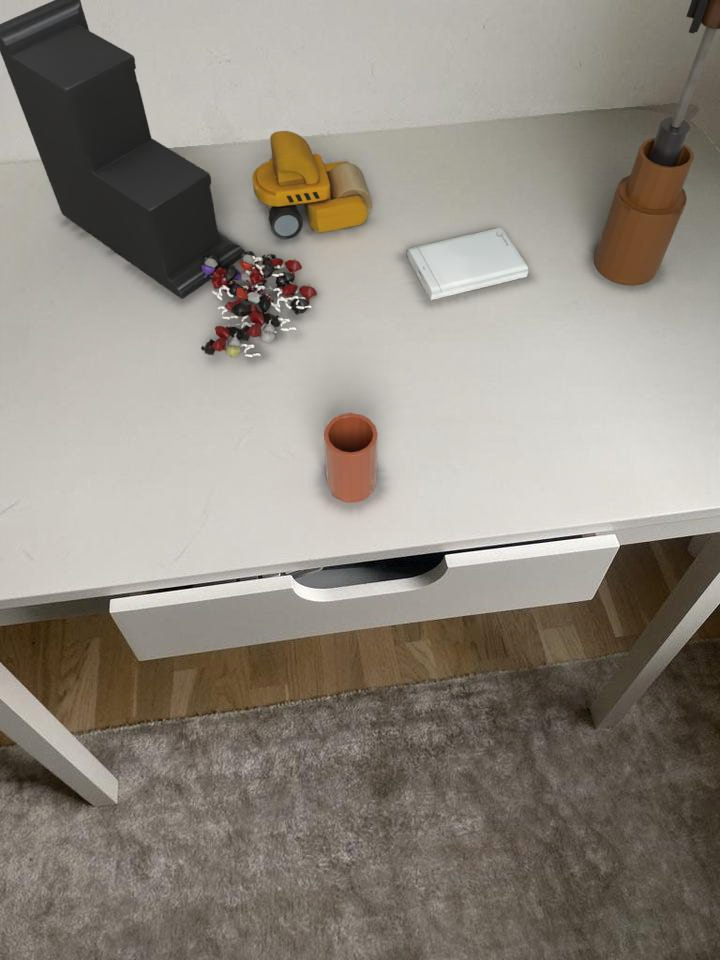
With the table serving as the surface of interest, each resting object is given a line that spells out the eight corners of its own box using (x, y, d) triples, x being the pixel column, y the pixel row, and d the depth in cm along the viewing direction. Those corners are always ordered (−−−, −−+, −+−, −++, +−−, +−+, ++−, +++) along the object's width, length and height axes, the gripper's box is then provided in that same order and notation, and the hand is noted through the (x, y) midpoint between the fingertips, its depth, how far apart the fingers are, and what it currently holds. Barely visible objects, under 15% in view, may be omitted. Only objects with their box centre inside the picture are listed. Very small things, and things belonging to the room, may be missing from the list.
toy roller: (375, 228, 97) (376, 153, 88) (263, 245, 95) (253, 170, 86) (360, 186, 102) (360, 111, 93) (253, 201, 100) (243, 126, 91)
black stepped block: (247, 255, 94) (217, 64, 74) (181, 301, 90) (130, 111, 70) (127, 178, 103) (71, -12, 83) (61, 217, 98) (-14, 26, 79)
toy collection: (179, 273, 91) (175, 244, 86) (296, 256, 94) (298, 227, 90) (206, 375, 84) (203, 349, 80) (330, 352, 88) (333, 327, 84)
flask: (670, 269, 93) (719, 158, 80) (625, 294, 90) (668, 183, 78) (625, 235, 96) (665, 123, 84) (581, 258, 94) (615, 147, 81)
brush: (679, 170, 82) (761, -36, 65) (660, 180, 81) (737, -27, 65) (659, 156, 84) (734, -49, 67) (639, 166, 83) (710, -40, 66)
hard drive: (501, 225, 95) (407, 246, 93) (529, 268, 90) (432, 291, 88) (499, 236, 96) (406, 257, 94) (527, 279, 92) (430, 301, 90)
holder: (385, 487, 75) (387, 439, 69) (344, 511, 74) (343, 464, 67) (358, 454, 78) (357, 405, 71) (318, 476, 76) (314, 428, 69)
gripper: (931, -236, 55) (806, 30, 70) (707, -265, 59) (635, -6, 74) (924, -203, 51) (794, 70, 67) (686, -236, 55) (614, 29, 70)
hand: (711, 28), depth 70 cm, fingers closed on brush, 2 cm apart
